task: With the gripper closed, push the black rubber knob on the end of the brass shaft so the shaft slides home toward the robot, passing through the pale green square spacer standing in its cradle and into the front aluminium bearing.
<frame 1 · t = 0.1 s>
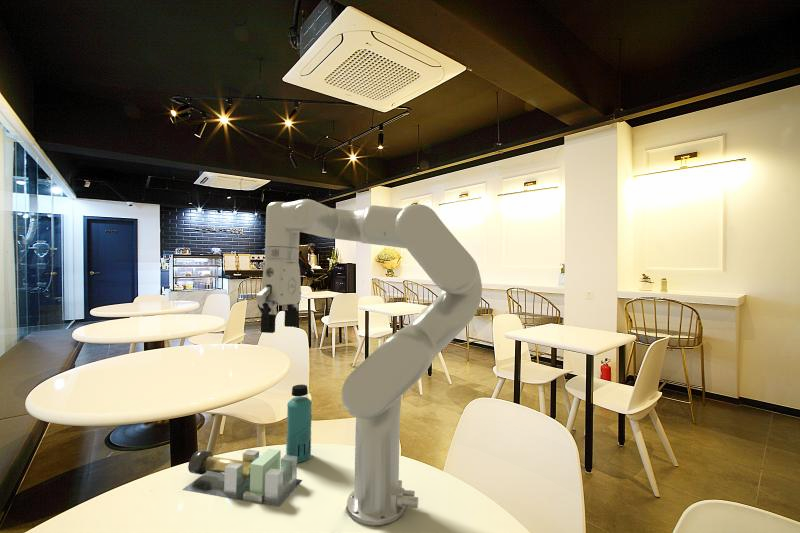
hand: (280, 329, 83), 37 cm above the table, tool pointing down, fingers open, 9 cm apart
rig: (247, 490, 81), on the table
beverage bottle: (298, 463, 93), on the table
spacer: (265, 488, 80), point 1 cm above the table, touching rig
shaft: (223, 465, 83), point 5 cm above the table, slide at 0.0 cm
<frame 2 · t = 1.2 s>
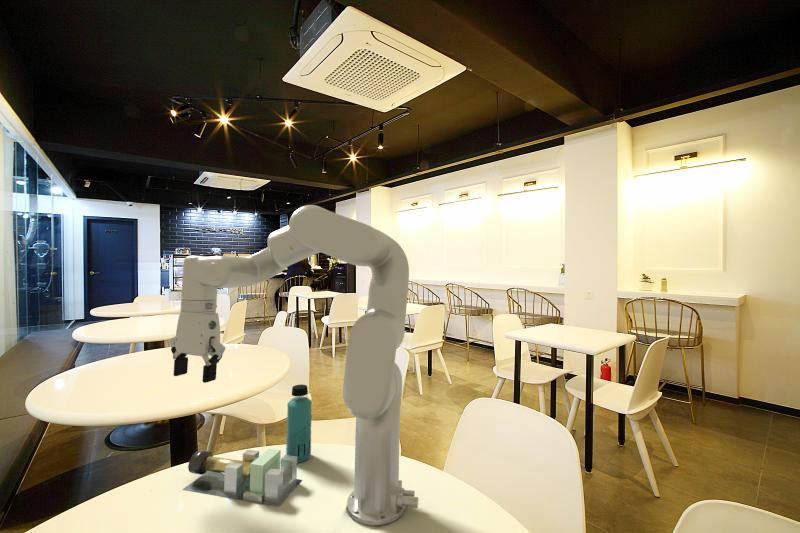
hand: (194, 377, 85), 24 cm above the table, tool pointing down, fingers open, 9 cm apart
nothing on the table moved.
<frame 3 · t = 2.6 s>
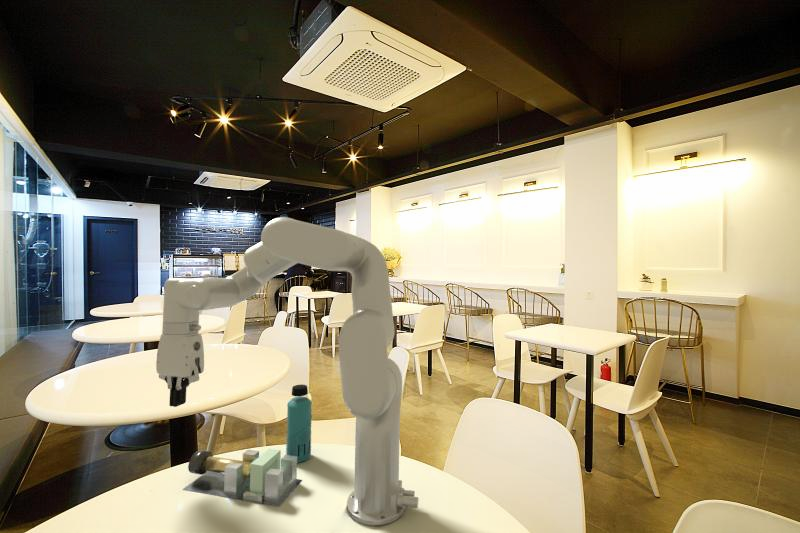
hand: (177, 404, 86), 18 cm above the table, tool pointing down, fingers closed
nothing on the table moved.
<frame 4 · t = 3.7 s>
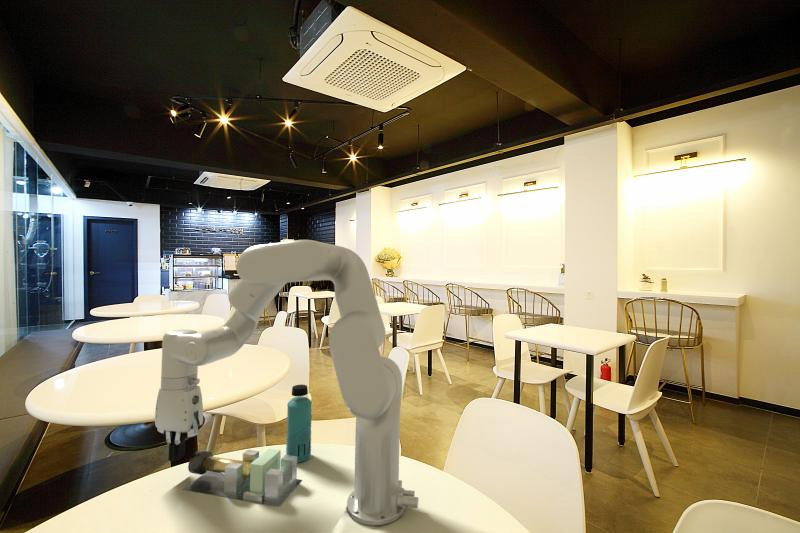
hand: (176, 458, 85), 5 cm above the table, tool pointing down, fingers closed
nothing on the table moved.
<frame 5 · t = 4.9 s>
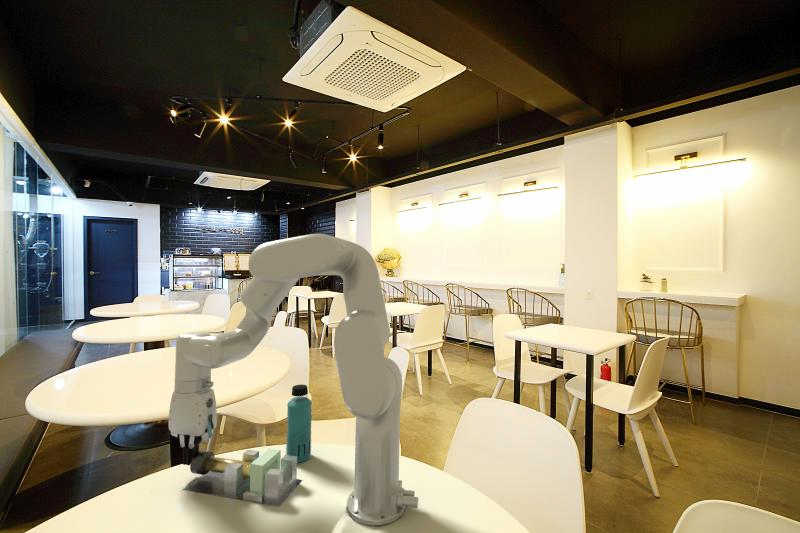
hand: (190, 462, 85), 4 cm above the table, tool pointing down, fingers closed
shaft: (225, 466, 82), point 5 cm above the table, slide at 0.5 cm, touching gripper
everything else where it was.
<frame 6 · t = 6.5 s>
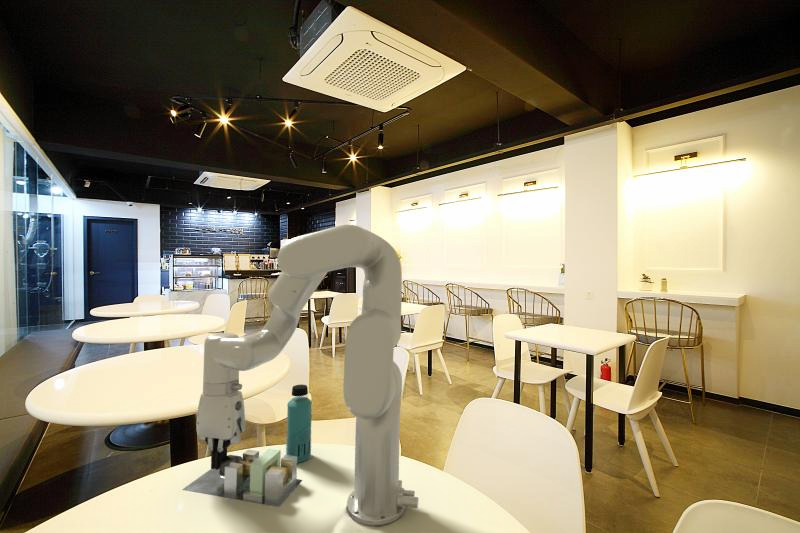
hand: (218, 466, 83), 4 cm above the table, tool pointing down, fingers closed
shaft: (255, 470, 81), point 5 cm above the table, slide at 8.3 cm, touching gripper
everything else where it was.
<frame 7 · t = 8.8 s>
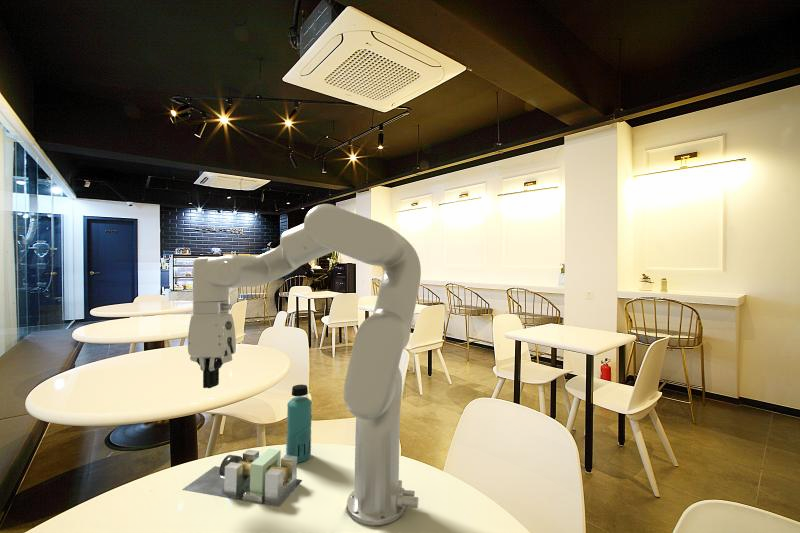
hand: (211, 386, 84), 23 cm above the table, tool pointing down, fingers closed
shaft: (255, 470, 81), point 5 cm above the table, slide at 8.3 cm
everything else where it was.
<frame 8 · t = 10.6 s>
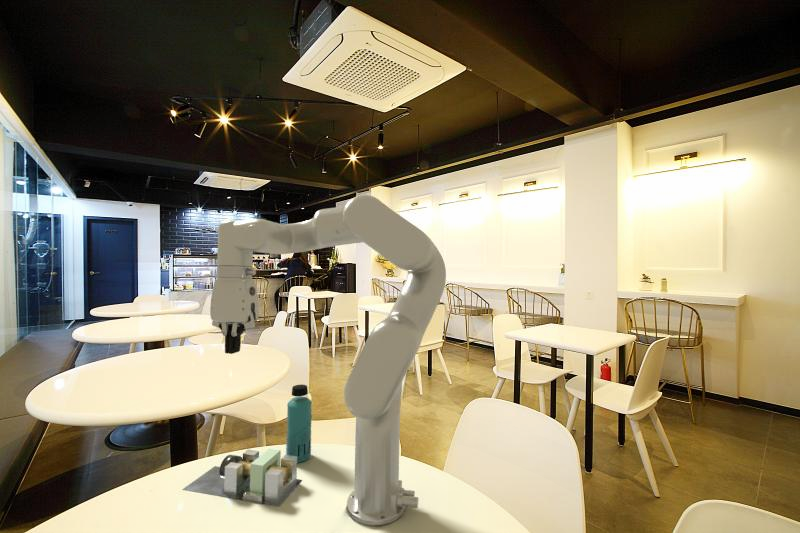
hand: (232, 352, 83), 31 cm above the table, tool pointing down, fingers closed
nothing on the table moved.
at the end: shaft slide at 8.3 cm; spacer tilted 0°; spacer 0.0 cm from the target spot, point 1.2 cm above the table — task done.
